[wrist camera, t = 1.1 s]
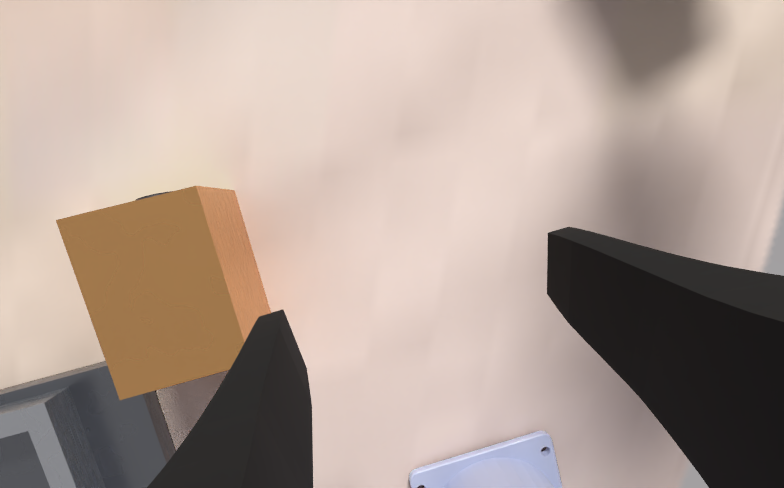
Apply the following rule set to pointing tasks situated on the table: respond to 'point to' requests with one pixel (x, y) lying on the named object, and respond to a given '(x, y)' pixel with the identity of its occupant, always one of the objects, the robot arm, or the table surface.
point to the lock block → (167, 285)
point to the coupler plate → (80, 433)
